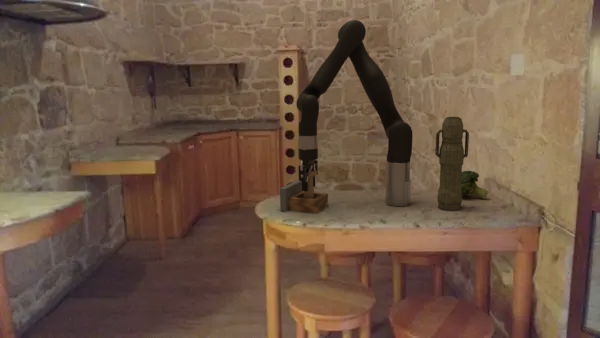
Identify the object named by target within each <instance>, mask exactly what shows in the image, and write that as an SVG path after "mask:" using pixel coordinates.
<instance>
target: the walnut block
mask: <svg viewBox="0 0 600 338" xmlns="http://www.w3.org/2000/svg"><path fill="white" fill-rule="evenodd" d="M327 207H329V194H328V193H324V192H315V193H314V199H308V198H304V192H301V191H300V192H298V193H296V194H295V195H293V196H291V197H289V198H288V211H287V212H297V213H298V212H299V213H307V214H308V213H309V214H318V213H320V212H322V211H323V210H324V209H326V208H327Z"/></svg>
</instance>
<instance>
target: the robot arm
mask: <svg viewBox="0 0 600 338" xmlns="http://www.w3.org/2000/svg"><path fill="white" fill-rule="evenodd" d="M366 34H367V31H366V27H365V24H364V23H363V22H362V21H360V20H357V19H351V20H349V21H347V22H345V23H344V24H342V26H340V28H339V30H338V32H337V39H338V41H337V42H336V45H335V47H334V48H333V50H331V53H330V54H329V55H328V57H326V58H325V59H324V61H323V63H322V64H321V65H320V66H319V68H318V69H317V71H316V72H315V74H314V75H313V77H312V79H311V81H310V82H309V83H308V84H307V86H306V87H305V88H304V89H303V90H302V91H301V93H300V94H299V96H298V98H297V99H296V105H295V106H296V109H297V110H298V111H299V112H300V113H301V115H300V116H301V117H300V121H299V122H298V141H297V143H298V144H297V145H298V146H297V147H298V148H297V149H298V150H297V151H298V153H297V154H298V160H300V161H303V162H302V165H300V164H299V165H298V180H299V181H302V191H308V182H307V181H308V177H309V176H310V173H311V171H313V170H317V174H316V175H315V176H313V187H316V178H317V175H319V174H318V172H319V169H318V168H319V167H318V166H319V165H318V163H319V162H318V161H319V160H318V159H319V141H318V140H319V138H318V119H319V116H320V115H319V114H320V102H319V99H320V97H321V96H322V95H324V94H325V93H326V92H327V91H328V89H329V88H330V87H331V85H332V83H333V81H334V80H335V79H336V77H337V75H338V74H339V72H340V70H341V68H342V67H343V66H344V64H345V62H346V61H347V60H348V59H350V62H351V63H352V66H353V67H354V70H355V73H356V75H357V77H358V79H359V81H360V84H361V86H362V87H363V90H364V92H365V93H366V96H367V98H368V99H369V101H370V103H371V105H372V107H373V108H374V110H375V111H376V113H377V114H378V117H379V119H380V121H381V124H382V127H383V130H384V133H385V136H386V138H387V139H388V140H387V142H388V143H387V144H388V145H387V154H386V171H385V173H386V175H385V176H386V178H385V180H386V181H385V182H386V183H385V204H386V205H388V206H393V207H404V206H405V207H407V206H409V205H410V203H411V194H412V193H411V191H412V189H411V187H412V186H411V185H412V179H411V157H412V151H413V129H412V126H410V124H409V123H408V122H406V121H404V119H403V118H402V116H401V115H400V113H399V111H398V110H397V107H396V104H395V102H394V97H393V93H392V90H391V87H390V85H389V82H388V79H387V78H386V76H385V74H384V72H383V71H382V69H381V67H380V66H379V65H378V64H377V63H376V61H374V60H373V58H372V57H371V56H370V55H369V52H368V51H367V48H366V47H365V44H364V42H363V41H364V40H365V37H366ZM301 175H302V176H301Z"/></svg>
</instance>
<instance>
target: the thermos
mask: <svg viewBox="0 0 600 338" xmlns="http://www.w3.org/2000/svg"><path fill="white" fill-rule="evenodd" d="M464 133H465V134H464ZM440 134H441V138H442V139H441V145H440ZM464 135H465V136H464ZM463 137H465V140H464V142H463ZM469 139H470V133H469V131H468V129H465V128H464V123H463V119H462V118H461V117H459V116H447V117H445V118H444V120H443V122H442V125H441V129H438V130H437V132H436V133H435V156H436V157H437V158H438V161H439V162H438V163H439V166H440V167H439V188H438V190H437V204H438V205H437V209H438V210H440V211H446V212H455V211H456V212H457V211H461V210H462V203H463V197H462V190H461V176H462V172H463V171H462V170H463V169H462V168H463V165H464V159H465V158H468V155H469V144H470V143H469V142H470V141H469ZM463 143H464V146H463Z"/></svg>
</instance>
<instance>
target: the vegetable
mask: <svg viewBox="0 0 600 338" xmlns="http://www.w3.org/2000/svg"><path fill="white" fill-rule="evenodd" d="M479 177H480V174H479V173H477V172H476V171H472V170H463V171H462V176H461V190H462V198H464V197H465V196H477V197H479V198H480V199H482V200H486V198H487V196H488V194H489V190H486V188H482V187H480V186H478V182H479V179H478V178H479ZM476 182H477V183H476Z"/></svg>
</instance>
